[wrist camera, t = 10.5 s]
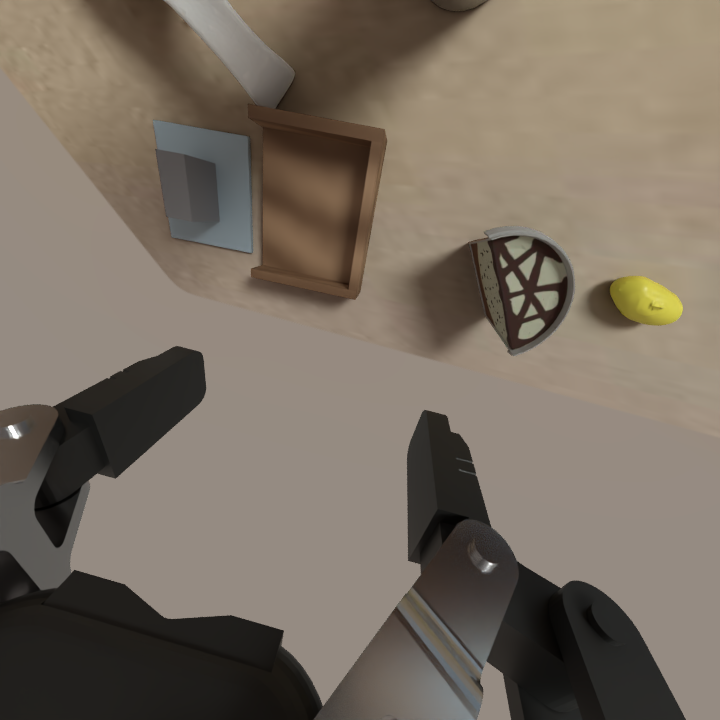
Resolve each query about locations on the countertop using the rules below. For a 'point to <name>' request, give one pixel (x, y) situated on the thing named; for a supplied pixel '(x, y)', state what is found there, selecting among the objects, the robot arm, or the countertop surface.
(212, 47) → the spoon rest
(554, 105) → the countertop surface
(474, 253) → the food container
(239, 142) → the cover plate
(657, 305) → the lemon
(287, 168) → the open-fronted box
